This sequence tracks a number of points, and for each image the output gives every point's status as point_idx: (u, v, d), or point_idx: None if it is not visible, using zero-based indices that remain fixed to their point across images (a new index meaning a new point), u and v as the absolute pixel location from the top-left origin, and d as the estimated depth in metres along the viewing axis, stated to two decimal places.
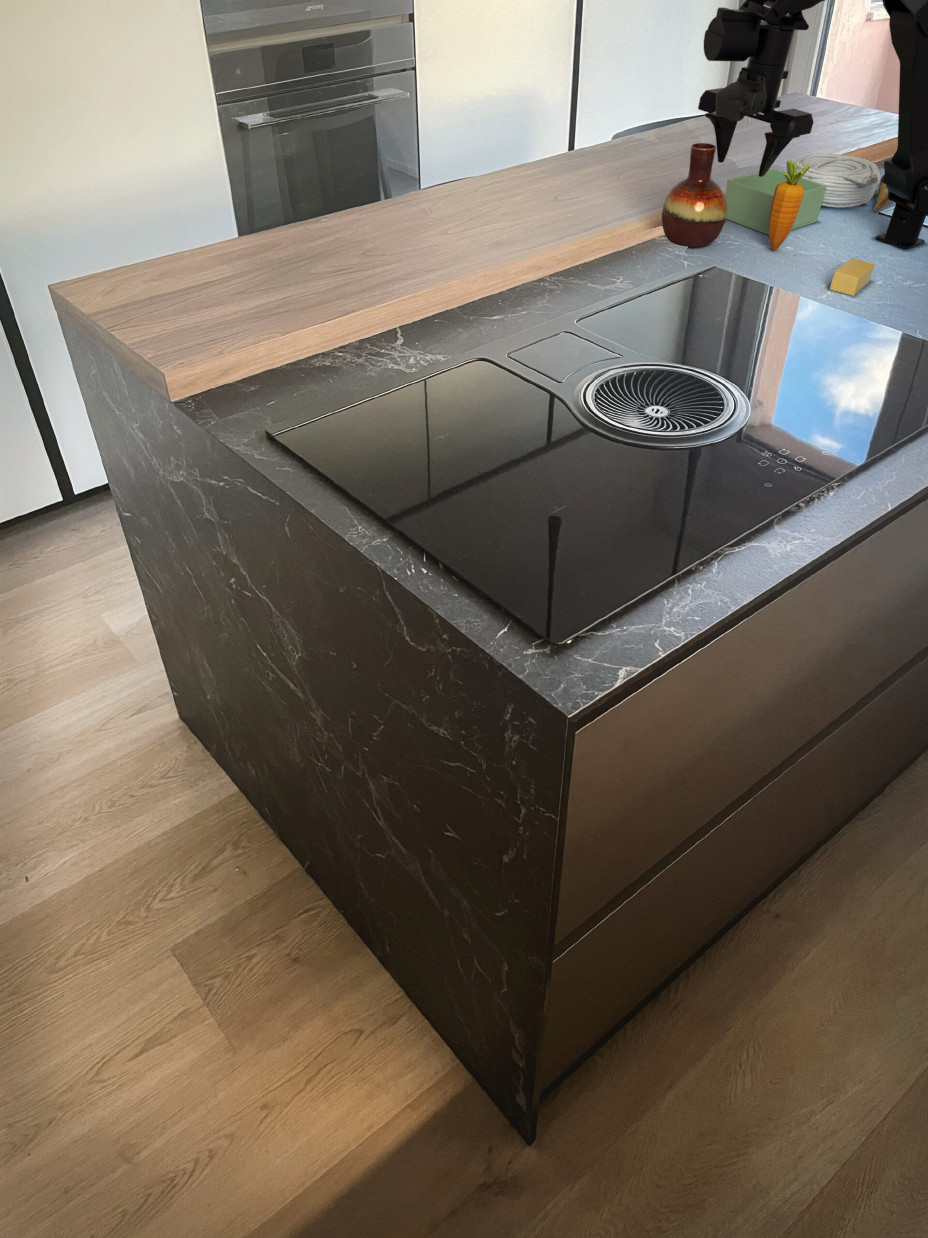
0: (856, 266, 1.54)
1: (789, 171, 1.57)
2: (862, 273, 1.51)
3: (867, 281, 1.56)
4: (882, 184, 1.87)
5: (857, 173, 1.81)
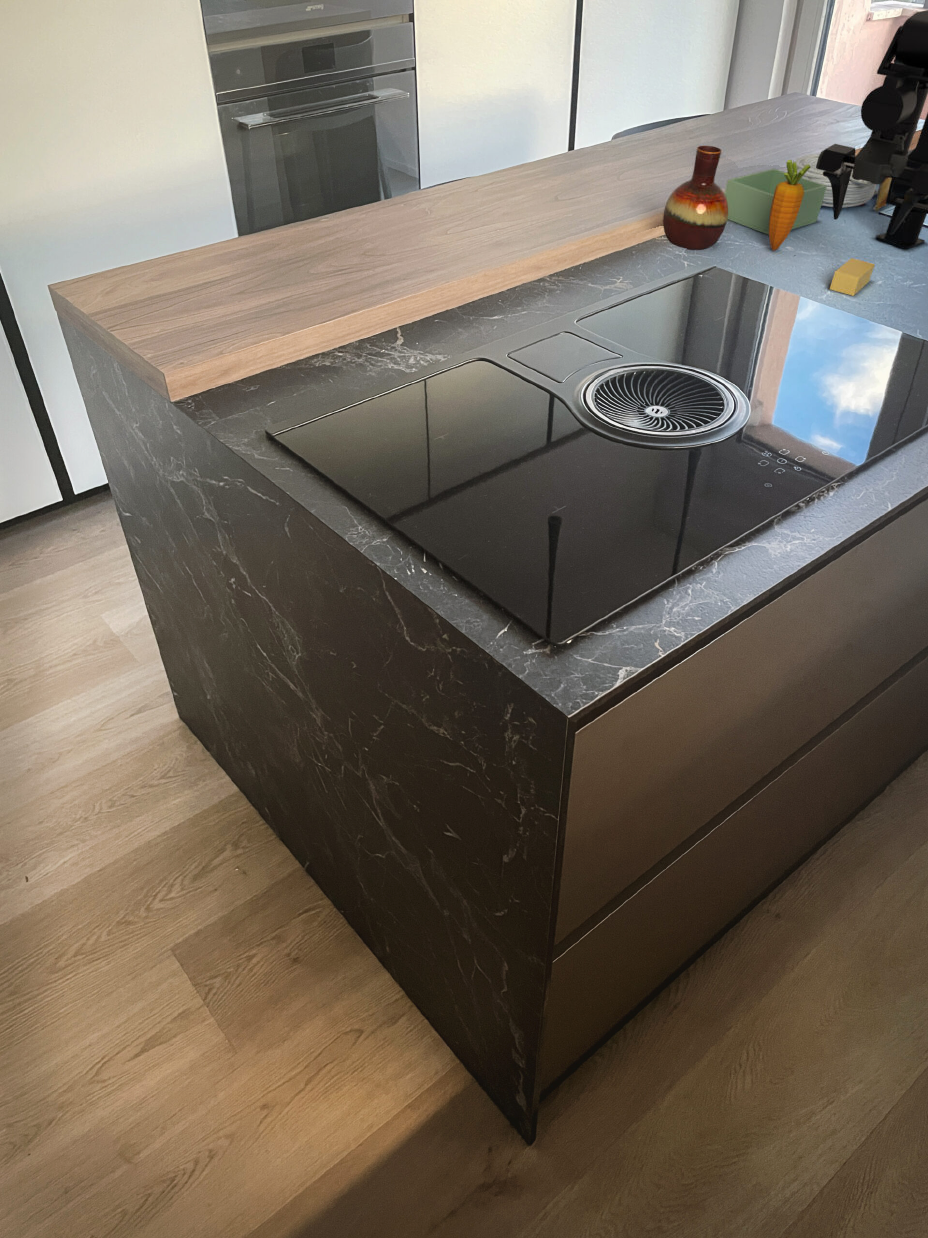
0: (856, 266, 1.54)
1: (789, 171, 1.57)
2: (862, 273, 1.51)
3: (867, 281, 1.56)
4: (882, 184, 1.87)
5: None
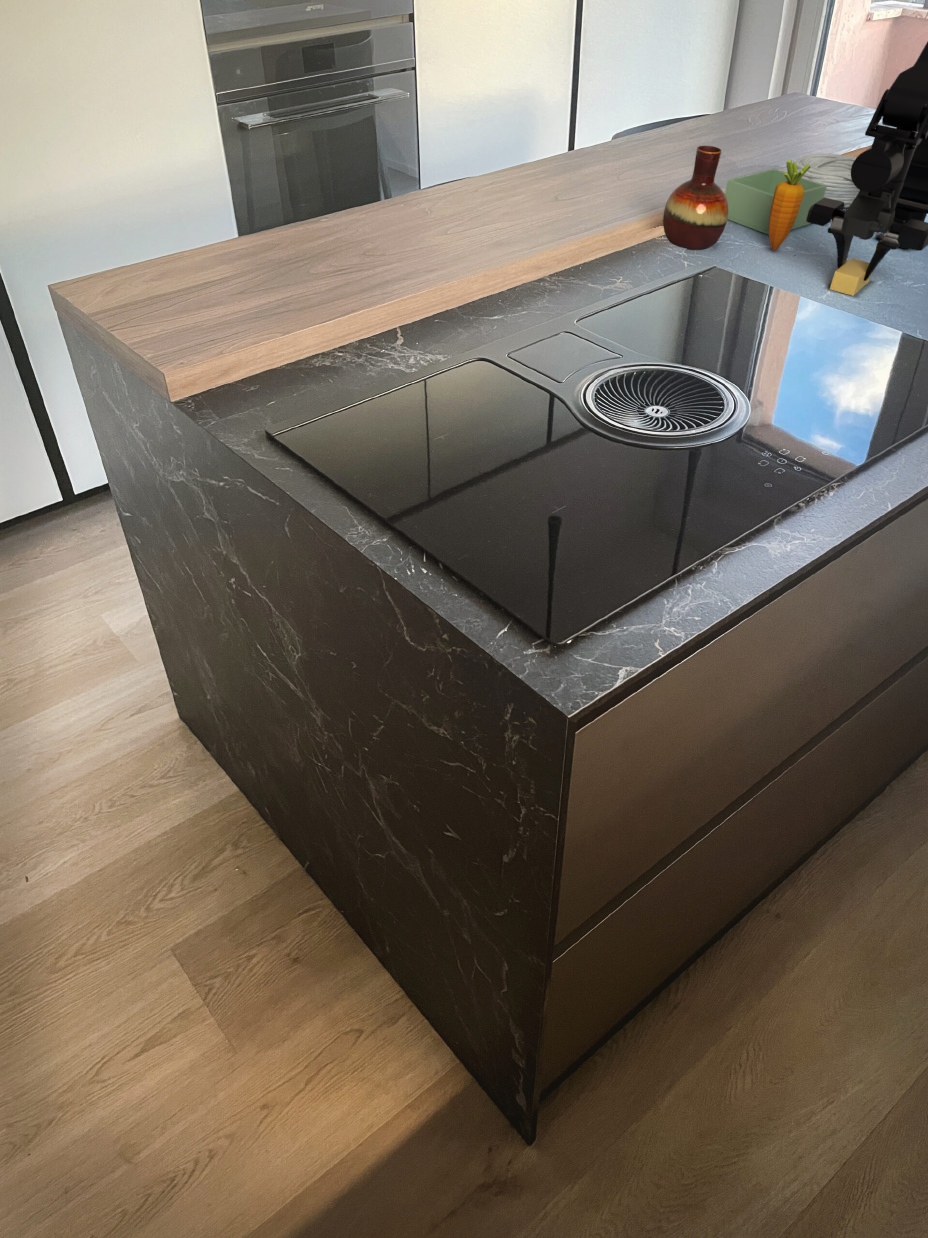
0: (856, 266, 1.53)
1: (789, 171, 1.57)
2: (862, 273, 1.51)
3: (867, 281, 1.56)
4: None
5: None
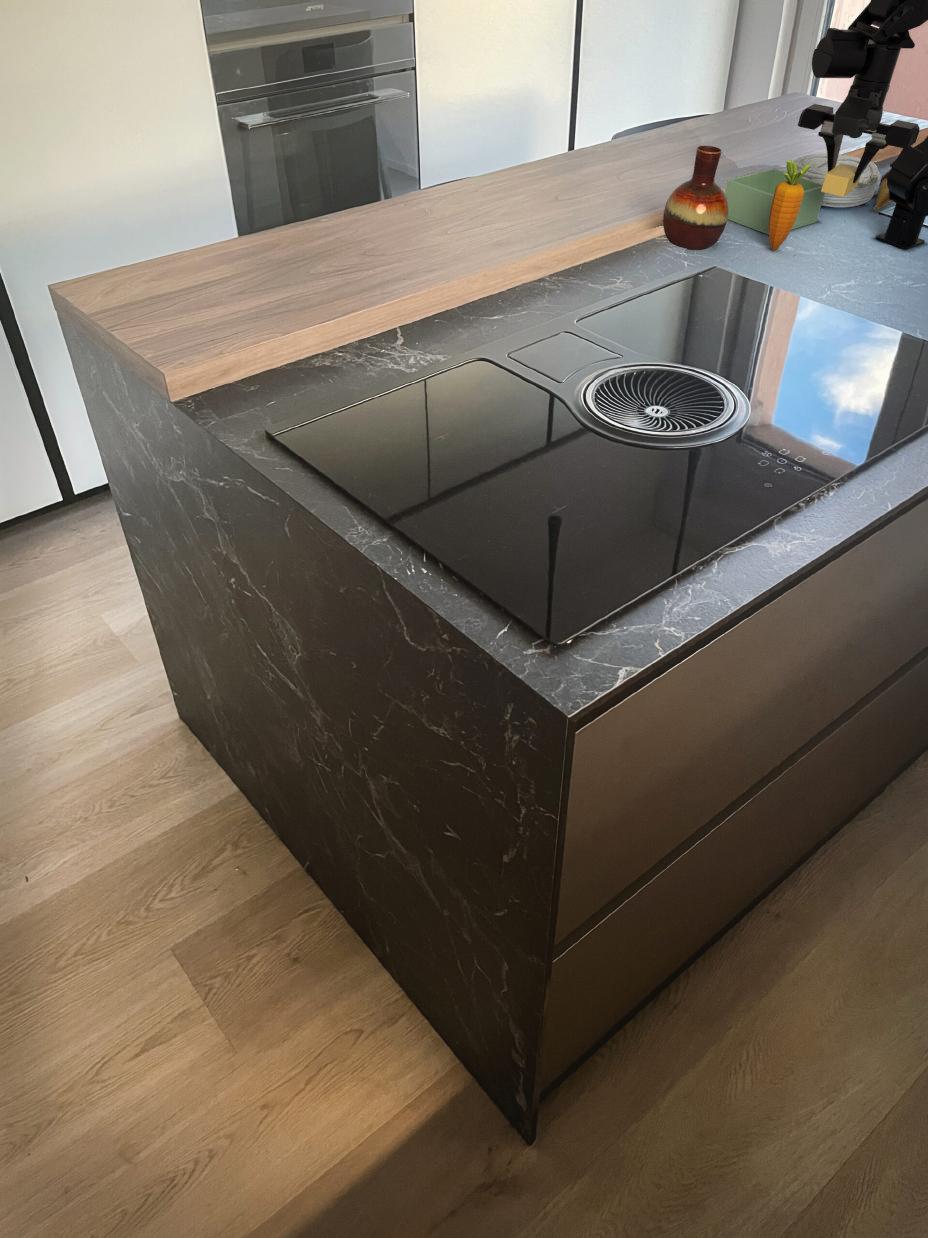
0: (846, 170, 1.61)
1: (789, 171, 1.57)
2: (851, 175, 1.59)
3: (856, 185, 1.64)
4: (882, 184, 1.87)
5: None
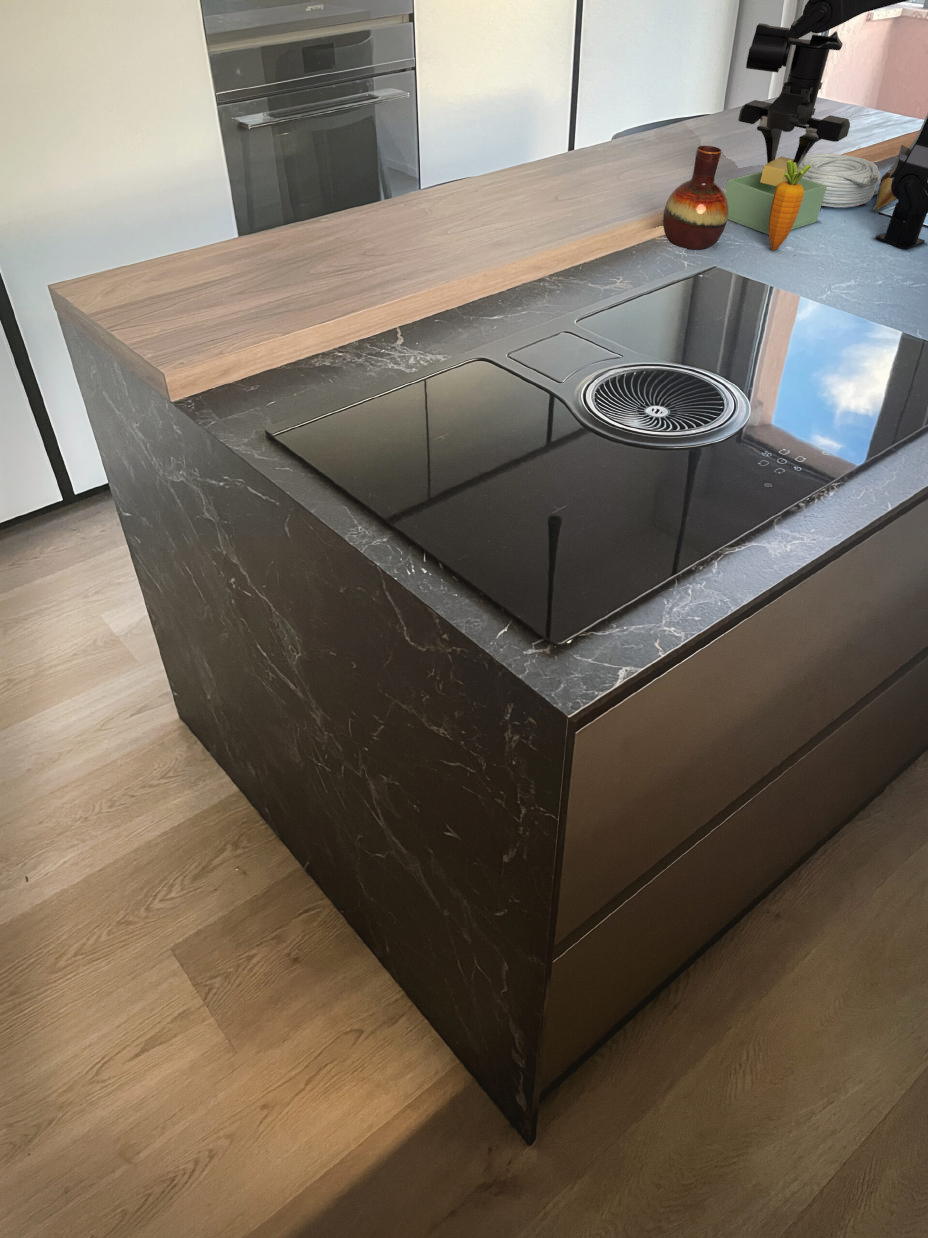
0: (784, 162, 1.72)
1: (789, 171, 1.57)
2: None
3: None
4: (882, 184, 1.87)
5: (857, 173, 1.81)
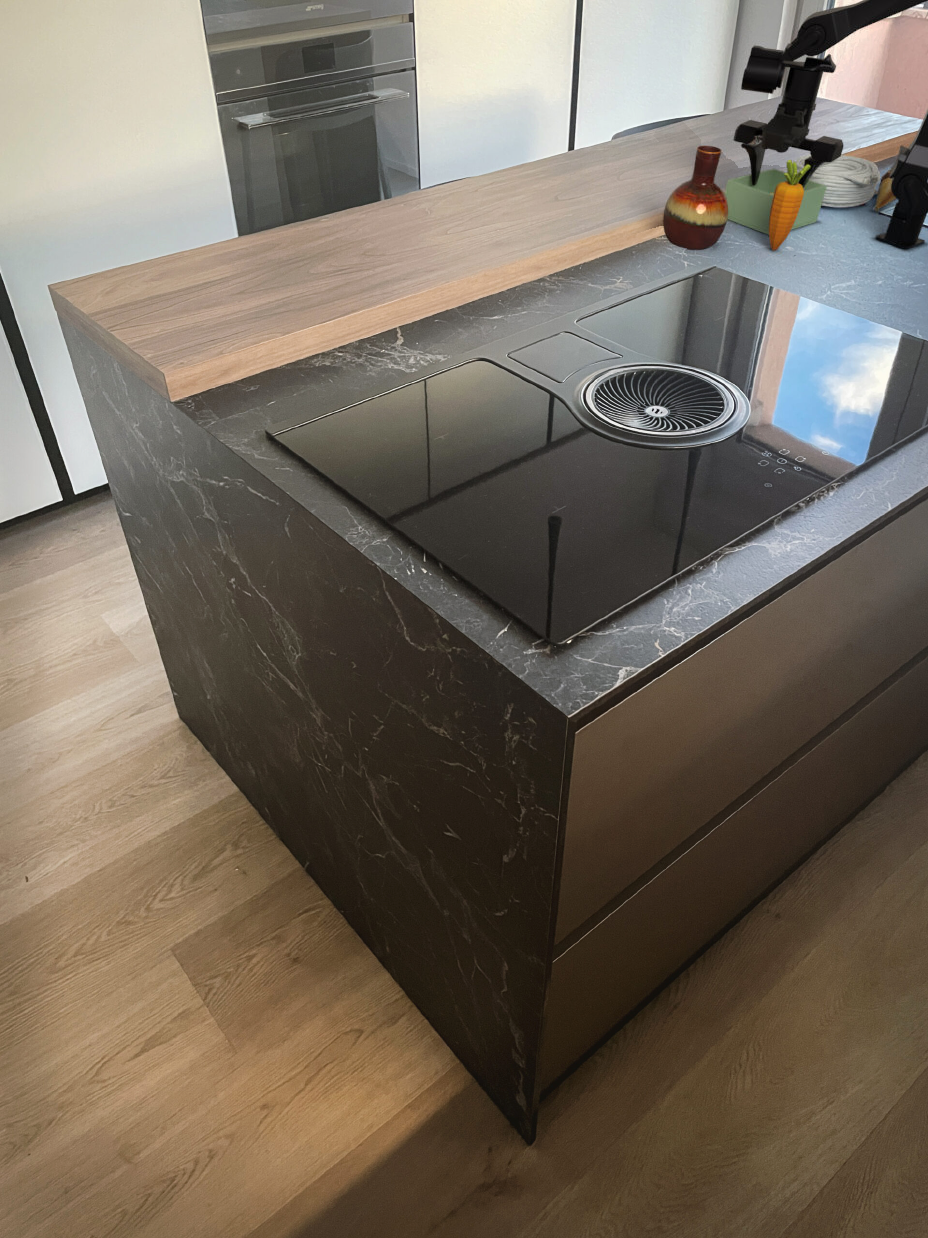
0: None
1: (789, 171, 1.57)
2: None
3: None
4: (882, 184, 1.87)
5: (857, 173, 1.81)
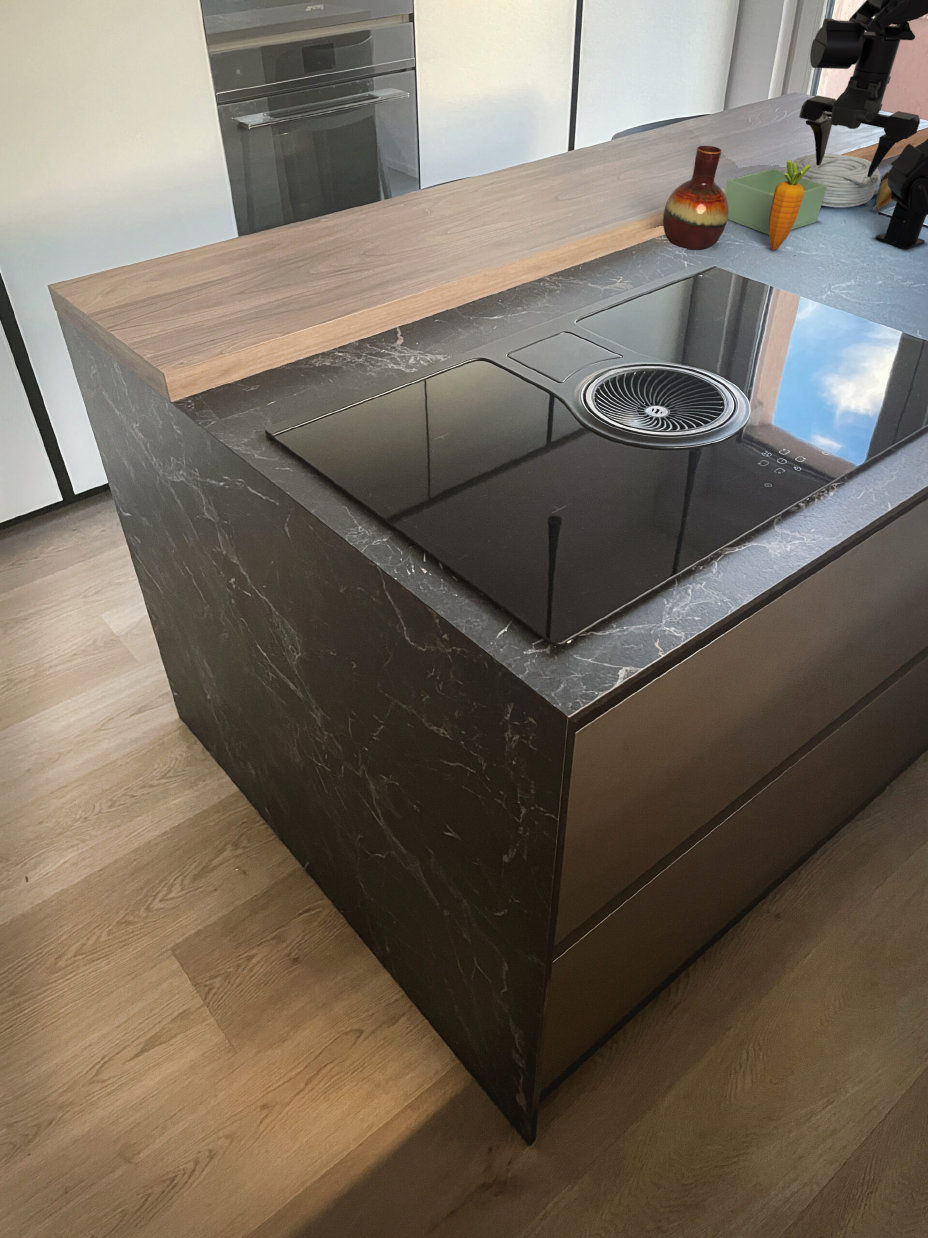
0: None
1: (789, 171, 1.57)
2: None
3: None
4: (882, 184, 1.87)
5: (857, 173, 1.81)
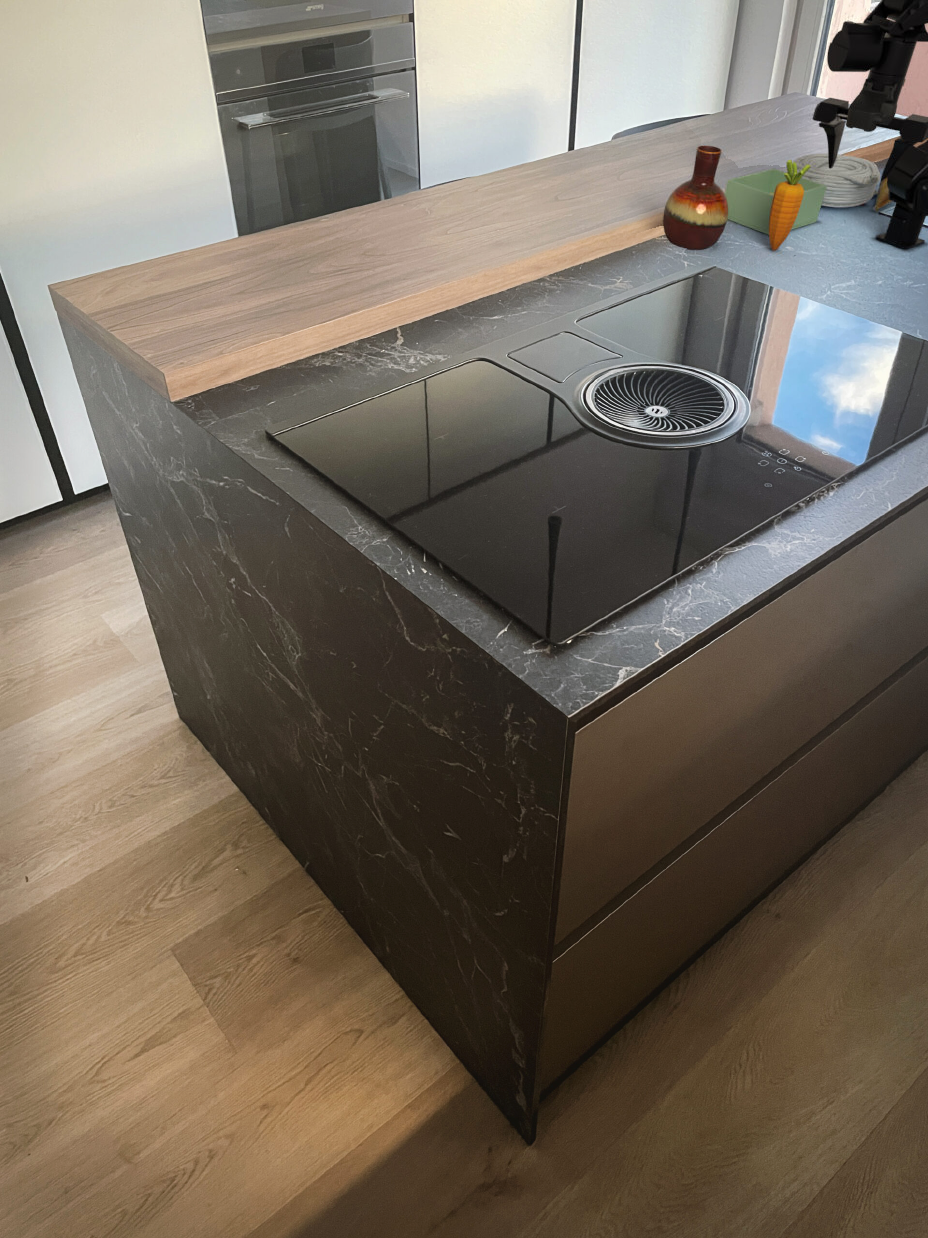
0: None
1: (789, 171, 1.57)
2: None
3: None
4: (882, 184, 1.87)
5: (857, 173, 1.81)
